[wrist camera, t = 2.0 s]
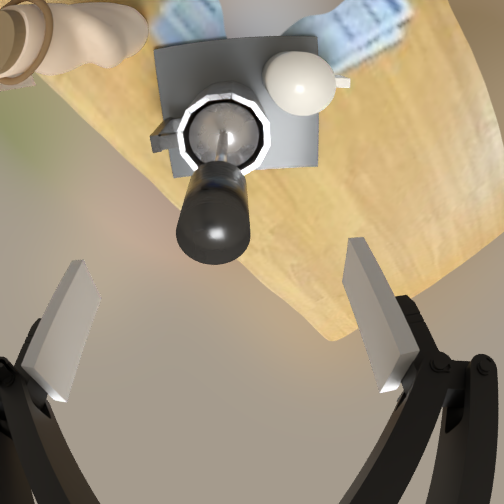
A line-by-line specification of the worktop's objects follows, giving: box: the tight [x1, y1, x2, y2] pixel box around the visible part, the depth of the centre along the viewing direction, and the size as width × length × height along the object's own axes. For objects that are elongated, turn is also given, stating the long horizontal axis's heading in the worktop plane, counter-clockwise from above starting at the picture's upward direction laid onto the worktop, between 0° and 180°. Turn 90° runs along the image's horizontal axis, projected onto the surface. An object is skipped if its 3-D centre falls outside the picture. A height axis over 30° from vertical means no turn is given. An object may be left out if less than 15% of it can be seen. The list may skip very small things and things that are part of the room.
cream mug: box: [262, 51, 350, 116], centre depth 34 cm, size 8×10×9 cm
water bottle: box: [0, 0, 148, 91], centre depth 22 cm, size 10×9×28 cm
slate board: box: [154, 36, 319, 178], centre depth 40 cm, size 20×22×1 cm
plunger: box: [176, 102, 259, 265], centre depth 24 cm, size 7×7×19 cm
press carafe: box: [150, 81, 270, 175], centre depth 36 cm, size 10×13×12 cm
